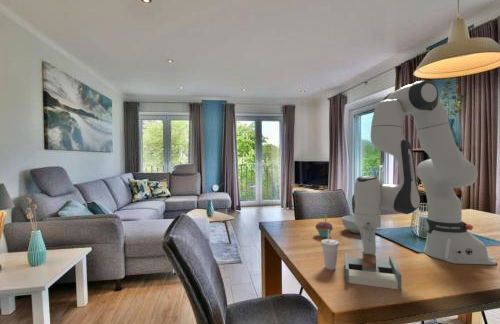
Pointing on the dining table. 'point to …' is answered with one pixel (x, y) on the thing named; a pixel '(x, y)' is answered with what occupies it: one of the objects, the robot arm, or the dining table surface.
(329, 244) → the smoothie
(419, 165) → the robot arm
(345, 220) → the cereal bowl
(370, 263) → the terracotta block
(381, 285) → the board
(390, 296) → the dining table surface
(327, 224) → the cupcake
